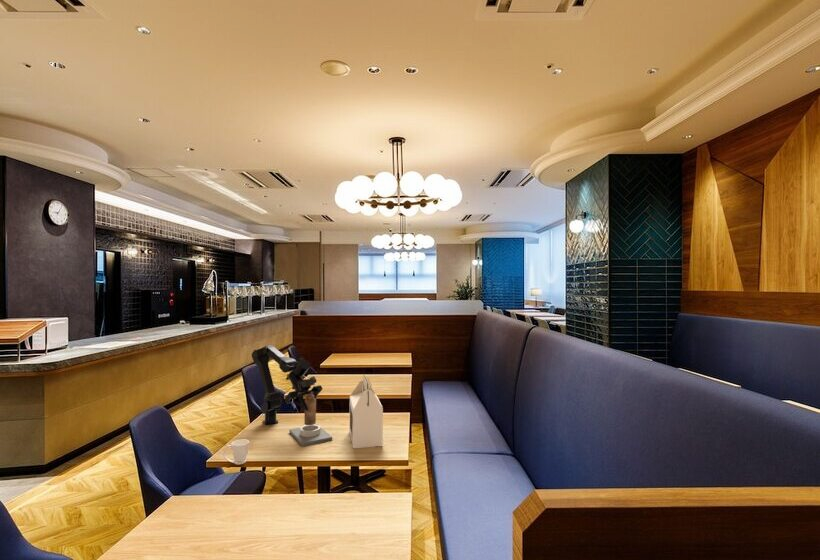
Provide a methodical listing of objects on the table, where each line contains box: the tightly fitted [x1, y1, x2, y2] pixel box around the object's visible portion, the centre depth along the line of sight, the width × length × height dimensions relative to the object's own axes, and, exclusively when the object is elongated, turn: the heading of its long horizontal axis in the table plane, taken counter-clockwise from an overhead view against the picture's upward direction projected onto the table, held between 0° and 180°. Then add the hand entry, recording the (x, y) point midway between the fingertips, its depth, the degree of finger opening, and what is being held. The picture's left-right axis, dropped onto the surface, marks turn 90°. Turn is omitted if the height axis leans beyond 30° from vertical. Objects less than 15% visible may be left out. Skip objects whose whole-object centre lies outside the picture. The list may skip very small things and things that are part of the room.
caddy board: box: [288, 424, 333, 447], centre depth 198 cm, size 20×14×4 cm
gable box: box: [349, 374, 384, 449], centre depth 196 cm, size 22×13×28 cm, turn 12°
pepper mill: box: [303, 393, 317, 426], centre depth 198 cm, size 5×5×14 cm
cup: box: [222, 438, 250, 466], centre depth 169 cm, size 7×10×8 cm
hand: (312, 408), depth 197 cm, fingers closed on pepper mill, 5 cm apart
